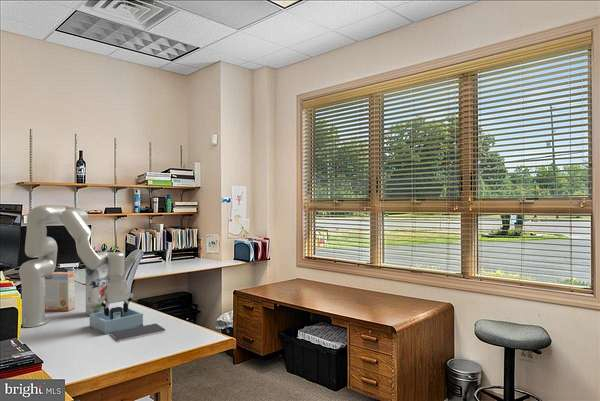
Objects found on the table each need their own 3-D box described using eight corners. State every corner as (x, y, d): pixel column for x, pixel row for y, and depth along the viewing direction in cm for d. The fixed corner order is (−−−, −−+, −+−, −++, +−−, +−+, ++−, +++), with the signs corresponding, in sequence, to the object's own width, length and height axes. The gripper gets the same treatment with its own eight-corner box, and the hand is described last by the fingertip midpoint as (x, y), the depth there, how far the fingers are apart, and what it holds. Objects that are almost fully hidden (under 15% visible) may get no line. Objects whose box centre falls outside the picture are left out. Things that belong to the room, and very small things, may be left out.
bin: (105, 334, 190) (105, 321, 190) (89, 326, 202) (89, 314, 202) (143, 325, 203) (142, 313, 203) (126, 318, 215) (126, 306, 215)
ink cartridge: (111, 325, 200) (111, 309, 200) (110, 324, 202) (109, 308, 202) (122, 323, 203) (122, 307, 203) (120, 322, 205) (120, 306, 205)
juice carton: (83, 315, 221) (82, 264, 221) (98, 310, 231) (97, 261, 231) (96, 316, 219) (96, 265, 218) (111, 311, 229) (110, 262, 229)
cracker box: (75, 308, 235) (74, 271, 235) (68, 311, 229) (68, 273, 229) (51, 308, 236) (51, 271, 236) (44, 311, 230) (44, 273, 230)
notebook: (156, 326, 204) (110, 335, 190) (156, 323, 204) (110, 332, 190) (166, 333, 194) (118, 343, 180) (166, 329, 194) (118, 339, 180)
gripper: (101, 281, 193) (101, 319, 194) (137, 276, 206) (137, 311, 206) (94, 279, 199) (94, 316, 199) (130, 274, 211) (130, 308, 212)
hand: (116, 313), depth 203 cm, fingers open, 8 cm apart
